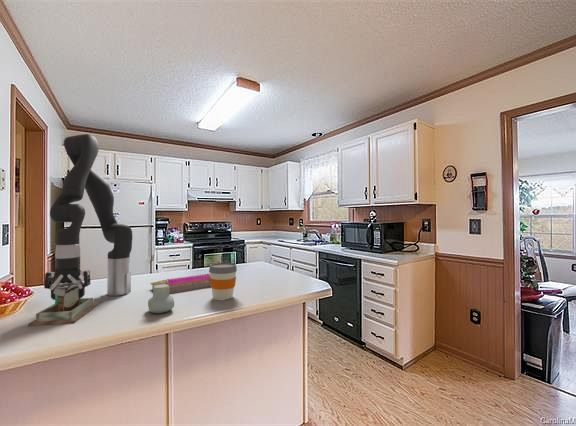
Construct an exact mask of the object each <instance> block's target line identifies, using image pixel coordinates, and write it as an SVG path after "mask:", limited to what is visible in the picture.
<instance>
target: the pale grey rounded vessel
mask: <svg viewBox="0 0 576 426" xmlns="http://www.w3.org/2000/svg"><path fill="white" fill-rule="evenodd" d="M147 306H148V307H147V308H148V310H149V312H150V313H153V314H164V313H166V312H169V311H172V309H174V307H175V299H174V297H173V296H172V295H170V293H169V285H166V284H161V285H156V286H154V287H153V289H152V297H150V298H149V299H148V301H147Z"/></svg>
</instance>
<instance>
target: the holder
mask: <svg viewBox="0 0 576 426" xmlns="http://www.w3.org/2000/svg"><path fill="white" fill-rule="evenodd" d="M99 304H100V302H94V297H86V298H84V297H82V298H80V303H79V306H77V307H76V308H74V309H73V310H71V311H63V312H55V303H54V304H51V305H50V306H48V307H46V308H44V309H42V310H41V311H39V312H37V313H35V314H36V315H35V319H34V320H32V321H29V322H28V323H27V326H28V327H33V326H34V327H35V326H50V325H62V324H75V323H77V322H78V321H79V320H81V319H82V318H83V317H85V316H86V315H88V313H90V312H91V311H93V310H94V309H95V308H96V307H99V306H100V305H99Z"/></svg>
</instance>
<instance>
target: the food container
mask: <svg viewBox="0 0 576 426" xmlns="http://www.w3.org/2000/svg"><path fill="white" fill-rule="evenodd" d="M78 289H79V287H78V286H77V285H75V284H74V283H73V282H72V283H61V284H60V285H57V286H56V288H55V290H54V292H53V293H54V294H55V300H54V304H55V312H63V311H71V310H73V309H74V308H76V307H77V306H79V303H80V298H78Z"/></svg>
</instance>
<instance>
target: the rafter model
mask: <svg viewBox="0 0 576 426" xmlns="http://www.w3.org/2000/svg"><path fill="white" fill-rule="evenodd" d="M209 280H210V273H205V274H198V275H197V274H196V275H190V276H183V277H174V278H166V279H163V280H159V281H154V282H153V281H152V282H150V283H149V284H150V285H151V286H152V287H151V288H152V289H151V290H153V287H154V286H156V285H161V284H166V285H169V294H174V293H180V292H186V290H187V291H193V290H192V289H194V290H198V289H197V288H200V289H203V288H202V287H206V288H208V287H207V286H211V285H210V281H209ZM192 283H193V284H192ZM185 284H186V285H185ZM179 285H180V286H179Z"/></svg>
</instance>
